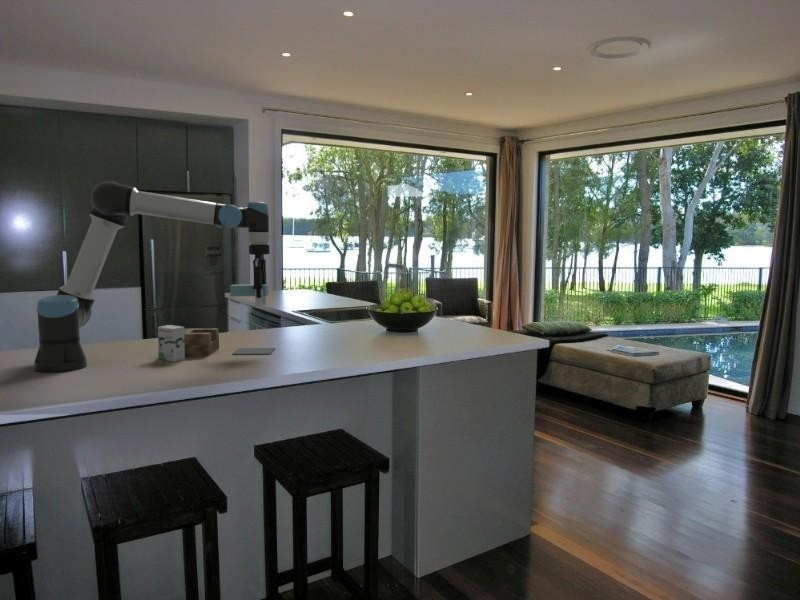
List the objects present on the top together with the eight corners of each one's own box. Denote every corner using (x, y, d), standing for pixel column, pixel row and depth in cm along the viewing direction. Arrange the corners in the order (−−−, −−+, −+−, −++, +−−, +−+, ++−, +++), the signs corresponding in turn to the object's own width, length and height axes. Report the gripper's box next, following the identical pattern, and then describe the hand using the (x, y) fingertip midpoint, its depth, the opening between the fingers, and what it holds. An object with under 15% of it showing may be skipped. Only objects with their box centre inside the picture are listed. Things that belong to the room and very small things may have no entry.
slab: (230, 296, 223) (230, 285, 222) (234, 295, 229) (233, 284, 228) (265, 296, 223) (265, 285, 223) (268, 294, 229) (268, 284, 229)
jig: (164, 355, 219) (163, 334, 218) (177, 348, 234) (176, 328, 233) (209, 355, 220) (208, 334, 219) (219, 348, 235) (218, 328, 234)
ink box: (157, 359, 213) (156, 326, 212) (169, 357, 217) (168, 324, 216) (174, 361, 209) (173, 328, 208) (185, 359, 213) (184, 326, 212)
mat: (232, 354, 222) (232, 353, 222) (239, 349, 234) (239, 348, 234) (270, 354, 222) (270, 353, 222) (275, 348, 234) (275, 347, 234)
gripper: (265, 244, 215) (266, 308, 217) (273, 243, 234) (274, 302, 236) (243, 244, 215) (245, 308, 217) (253, 243, 234) (255, 303, 236)
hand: (260, 305), depth 227 cm, fingers closed on slab, 6 cm apart
